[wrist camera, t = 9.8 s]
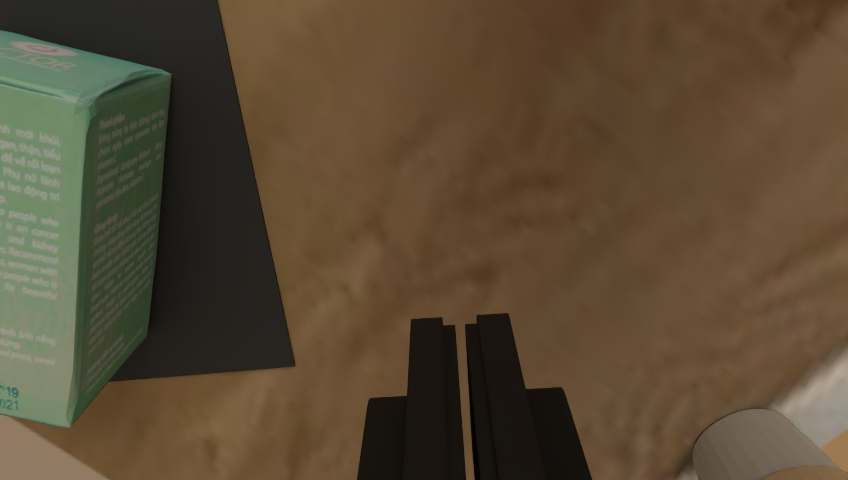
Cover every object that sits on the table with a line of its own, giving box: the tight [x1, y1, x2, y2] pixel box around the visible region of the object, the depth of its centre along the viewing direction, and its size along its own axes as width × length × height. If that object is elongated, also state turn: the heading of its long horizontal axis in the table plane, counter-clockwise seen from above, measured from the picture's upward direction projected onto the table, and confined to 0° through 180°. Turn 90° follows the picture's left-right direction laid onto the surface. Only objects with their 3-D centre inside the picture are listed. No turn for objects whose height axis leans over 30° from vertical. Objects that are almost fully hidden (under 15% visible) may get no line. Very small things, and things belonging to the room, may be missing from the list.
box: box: [0, 30, 172, 427], centre depth 24 cm, size 7×14×8 cm, turn 166°
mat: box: [0, 0, 295, 382], centre depth 27 cm, size 20×12×1 cm, turn 5°
